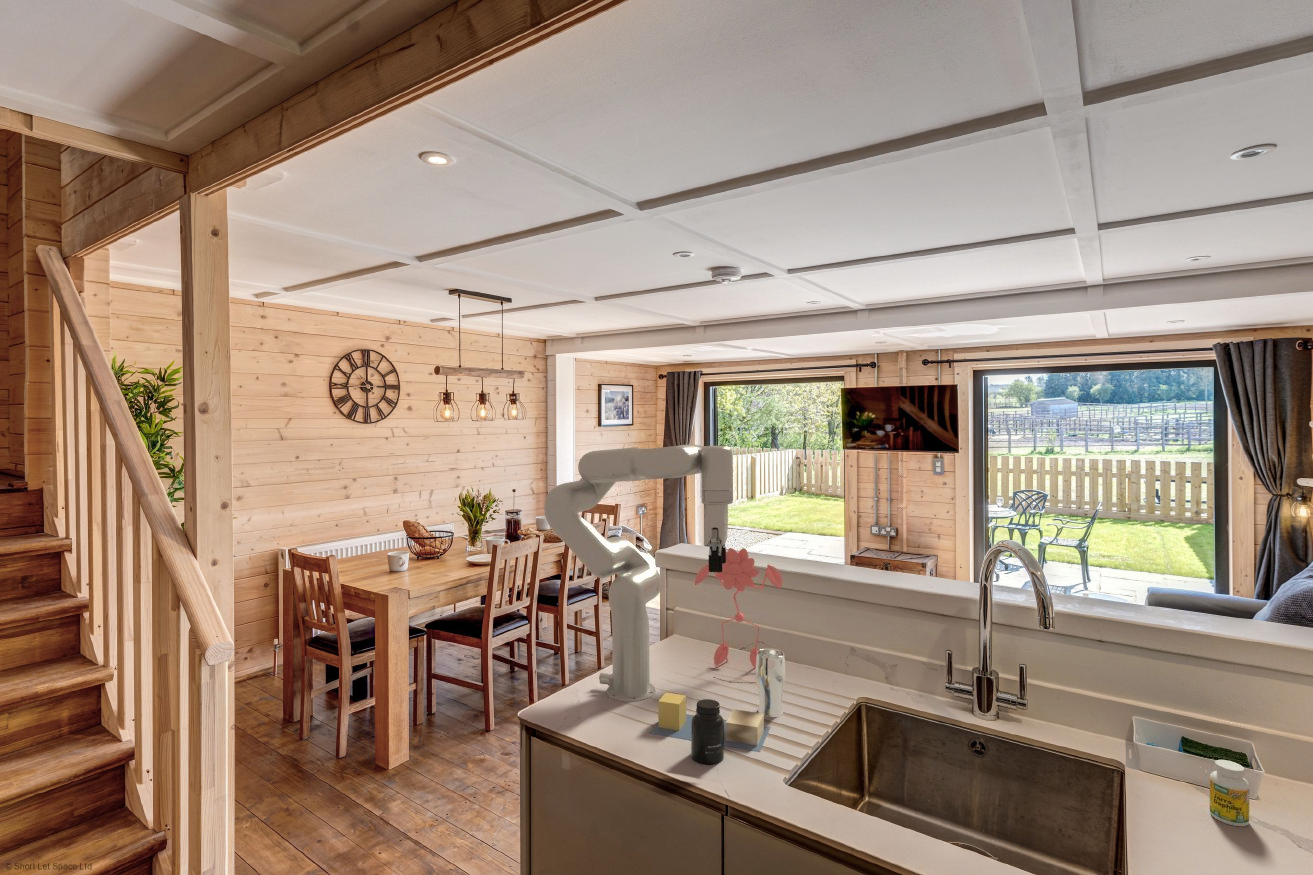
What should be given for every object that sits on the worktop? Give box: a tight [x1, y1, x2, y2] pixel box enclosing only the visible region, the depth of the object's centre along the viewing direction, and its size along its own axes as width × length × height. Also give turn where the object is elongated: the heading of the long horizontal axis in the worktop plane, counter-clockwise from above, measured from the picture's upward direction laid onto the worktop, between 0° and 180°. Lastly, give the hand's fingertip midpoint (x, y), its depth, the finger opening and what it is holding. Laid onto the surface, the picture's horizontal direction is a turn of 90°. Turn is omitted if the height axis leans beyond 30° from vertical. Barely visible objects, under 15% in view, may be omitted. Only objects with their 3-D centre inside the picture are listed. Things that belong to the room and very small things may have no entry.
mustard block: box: [657, 692, 687, 730], centre depth 156 cm, size 5×5×6 cm
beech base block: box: [726, 708, 765, 746], centre depth 150 cm, size 7×7×4 cm
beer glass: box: [755, 647, 786, 718], centre depth 162 cm, size 7×7×15 cm
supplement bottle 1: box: [690, 698, 725, 766], centre depth 141 cm, size 7×7×12 cm
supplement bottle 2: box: [1209, 759, 1251, 827], centre depth 120 cm, size 5×5×10 cm
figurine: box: [694, 547, 783, 684], centre depth 188 cm, size 15×26×35 cm, turn 67°
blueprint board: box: [648, 713, 771, 753], centre depth 153 cm, size 25×12×1 cm, turn 70°
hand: (717, 567), depth 164 cm, fingers open, 9 cm apart
